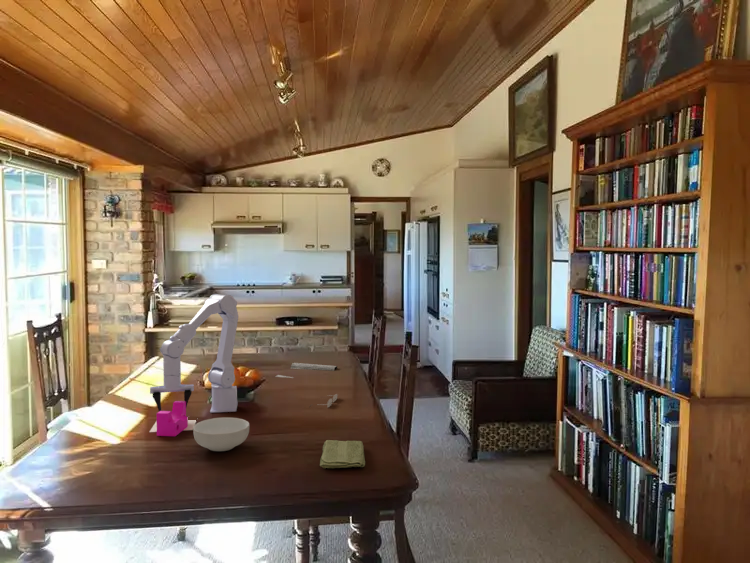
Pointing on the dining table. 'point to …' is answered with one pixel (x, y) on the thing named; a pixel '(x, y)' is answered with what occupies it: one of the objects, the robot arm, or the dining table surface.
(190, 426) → the white flat panel
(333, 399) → the eyeglasses
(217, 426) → the cereal bowl
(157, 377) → the dining table surface
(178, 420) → the toy block
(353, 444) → the washcloth
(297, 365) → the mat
